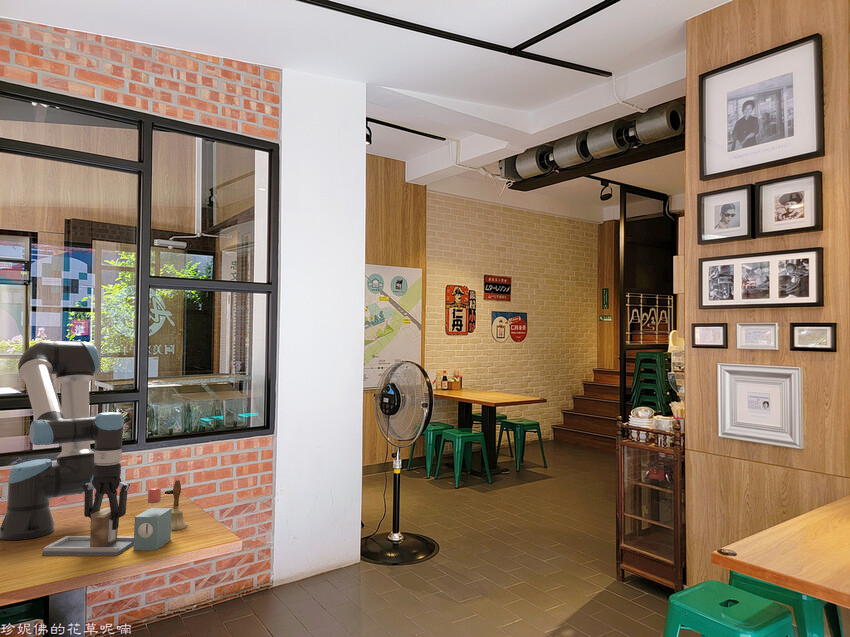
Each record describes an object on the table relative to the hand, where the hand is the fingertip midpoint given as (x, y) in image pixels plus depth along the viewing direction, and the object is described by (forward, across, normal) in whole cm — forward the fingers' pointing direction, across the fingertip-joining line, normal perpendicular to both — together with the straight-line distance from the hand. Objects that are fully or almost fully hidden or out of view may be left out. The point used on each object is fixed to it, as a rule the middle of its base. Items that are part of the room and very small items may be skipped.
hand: (103, 539), depth 178 cm
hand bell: (+3, +12, +23) cm, 26 cm away
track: (+3, -4, 0) cm, 5 cm away
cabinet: (+3, +13, +4) cm, 14 cm away
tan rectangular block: (+1, 0, 0) cm, 1 cm away
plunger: (-10, +13, +4) cm, 17 cm away
